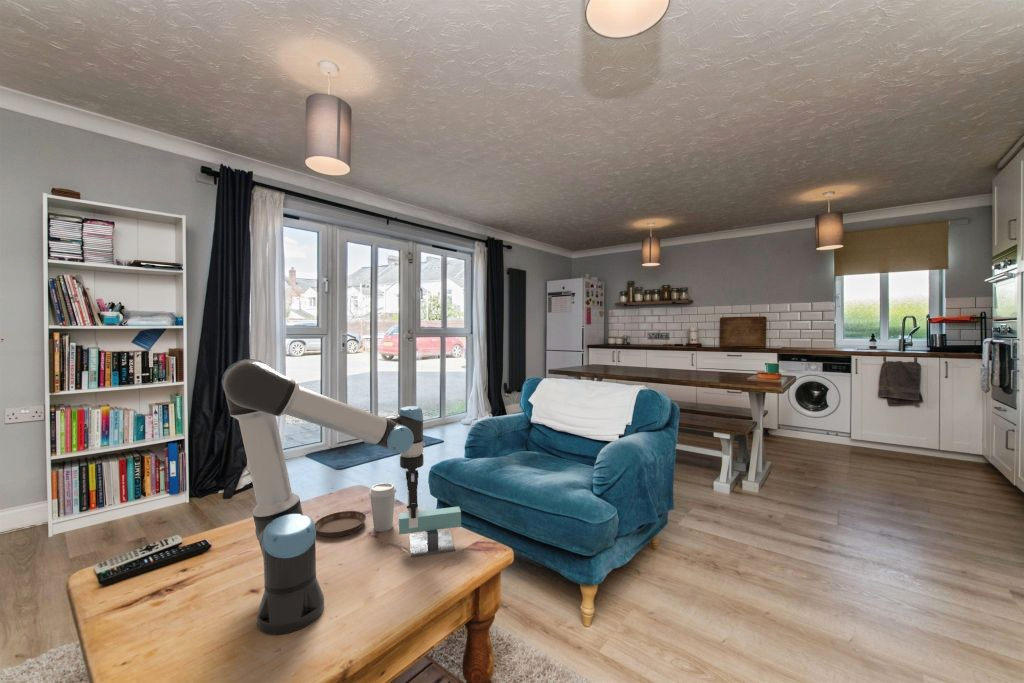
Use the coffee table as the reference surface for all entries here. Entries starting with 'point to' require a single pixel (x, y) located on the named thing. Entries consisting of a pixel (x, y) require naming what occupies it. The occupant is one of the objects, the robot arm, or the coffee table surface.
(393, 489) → the coffee cup
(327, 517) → the plant saucer
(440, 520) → the bar
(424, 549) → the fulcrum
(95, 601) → the coffee table surface
